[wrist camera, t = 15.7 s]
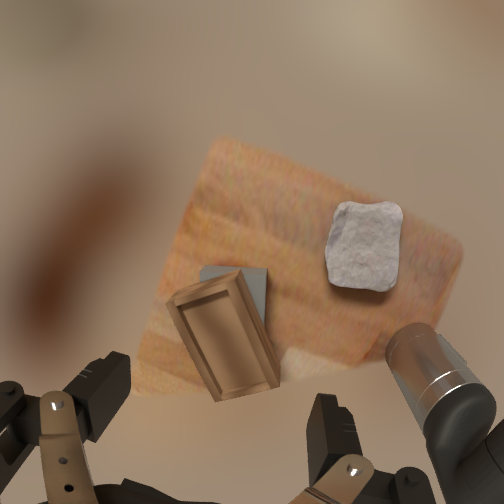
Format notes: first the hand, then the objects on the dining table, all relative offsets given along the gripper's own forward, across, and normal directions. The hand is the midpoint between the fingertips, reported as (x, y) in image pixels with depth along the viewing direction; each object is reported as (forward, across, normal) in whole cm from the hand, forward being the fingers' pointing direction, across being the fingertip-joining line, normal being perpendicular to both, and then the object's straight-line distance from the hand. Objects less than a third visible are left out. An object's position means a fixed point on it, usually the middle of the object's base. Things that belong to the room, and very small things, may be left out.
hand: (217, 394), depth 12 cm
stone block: (+32, -8, -2) cm, 33 cm away
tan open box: (+29, +2, +11) cm, 31 cm away
